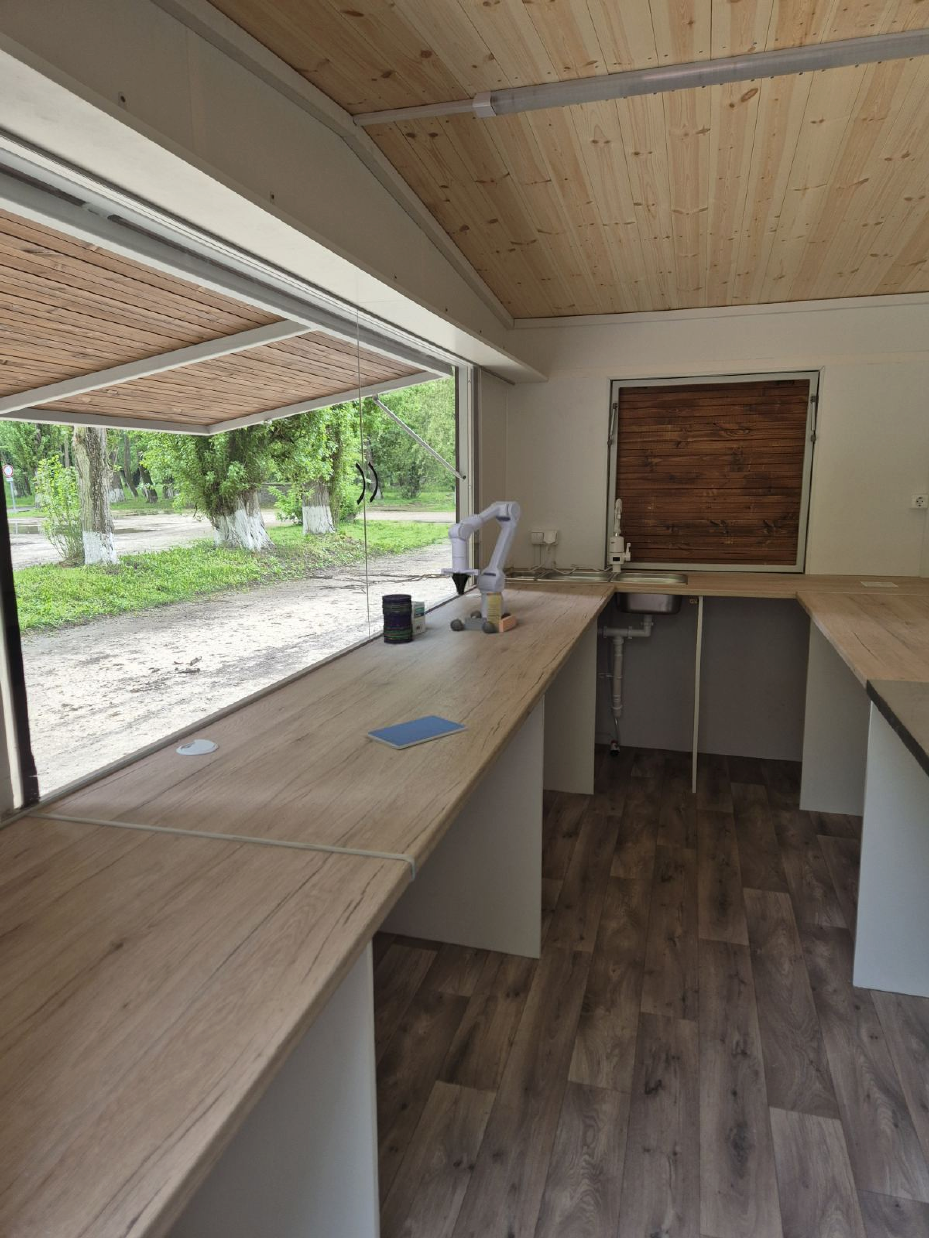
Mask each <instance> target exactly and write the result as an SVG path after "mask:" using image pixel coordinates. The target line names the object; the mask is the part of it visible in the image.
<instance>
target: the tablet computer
mask: <svg viewBox="0 0 929 1238" xmlns="http://www.w3.org/2000/svg"><path fill="white" fill-rule="evenodd" d="M468 729H469V728H468V726H466V725H463V724H461V723H457V722H455V721H453V720H449V719H446V718H444V717H440V716H437V715H434V714H433V715H432V714H431V715H428V716H424V717H420V718H416V719H413V720H410V721H405V722H402V723H398V724H394V725H392V726H387V727H384V728H379V729H375V730H371V731H369V732H368V731H367V732H366V733H365V736H364V737H365V738H367V739H369V740H371V741H374V742H376V743H379V744H381V745H384V746H387V747H389V748H390V749H395V750H403V749H406V748H410V747H412V746H416V745H420V744H423V743H426V742H430V741H433V740H437V739H439V738H444V737H447V736H450V735H453V734H454V735H455V734H457V732H458V733H461V732H464V731H468Z"/></svg>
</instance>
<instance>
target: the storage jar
mask: <svg viewBox="0 0 929 1238" xmlns="http://www.w3.org/2000/svg"><path fill="white" fill-rule="evenodd" d="M381 600H382V601H381V608H382V609H381V610H382V611H381V612H382V616H383V625H382V628H383V629H382V635H383V643H384V644H387V645H406V644H410V643H413V642H414V635H413V625H412V616H411V613H412V601H413V600H412V595H411V594H405V593H396V594H395V593H393V594H392V593H391V594H385V595H382V596H381Z"/></svg>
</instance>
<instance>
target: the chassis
mask: <svg viewBox="0 0 929 1238" xmlns="http://www.w3.org/2000/svg"><path fill="white" fill-rule="evenodd" d="M516 618H517V615H516V614H512V613H510V612H504V614H503V615H502V616H501V620H500V621H499V626H497V625H494V624H493V623H492V622H491V621H487V618H482V611H479V610H475V611H472V612H471V613H470V617H467V616H466V617H464V623H463V621H462V620H460V619H459V618H456V619H453V620H452V621H450V629H451V630H452V631H454V632H459V631H460V630H463V631H464V630H465V631H479V632H483V633H485V634H491V633H493V632H495V633H504V632H507V631H508V630H511V629H514V628H515V627H516V626H517V622H516V621H517V619H516Z"/></svg>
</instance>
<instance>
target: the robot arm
mask: <svg viewBox="0 0 929 1238" xmlns="http://www.w3.org/2000/svg"><path fill="white" fill-rule="evenodd" d="M521 515H522V509H521V505H520V504H519V503H518V502H517V501H501V500H496V501H494V502H493V503H491V504H490V506H488V507H487V508H485V509H484V510H483V511H481V512H480V513H479V514H475V513H470V514H468V516H467V517H466V518H465V519H461V520H460V521H459V523H453V524H451V525H450V526H449V529H448V531H447V535H448V537H449V539H450V544H451V560H452V561H451V563H452V568H448V567H447V568H441V570H440V571H441V572H440V575H451V579H452V581H453V583H454V585H455V587H456V591H457V595H458V596H463V595H464V594H465V589H466V586H467V583H468V581H469V579H470V576H477V579H476V588H477V589H478V591H479V593H480V597H481V598H480V599H481V601H480V602H481V603H480V604H481V614H482V618H485V619H487V599H486V595H487V593H501V616H502V615H503V614H504V613H505V612H504V611H505V609H504V608H505V607H504V606H505V605H504V603H505V599H504V596H503V591H504V589H505V585H506V584H505V583H506V579H507V576H506V574H505V573H504V568H505V565H506V562H507V558H508V556H509V553H510V551H511V547H512V545H513V541H514V539H515V536H516V533H517V529H518V525H519V520H520V518H521ZM493 518H495V521H497V523H498V525H499V526H500V527H501V531H500V533H499V535H498V538H497V541H496V544H495V547H494V550H493V553H492V554H491V559H490V562H489V565H488V566H487V567H485V568H484V569H482V571H481V570H480V569H477V568H476V569H475V568H469V546H468V545H469V544H468V542H469V539H470V538H471V535H472V534H473V533H475V532H476V531H479V530H480V529H481V528H482V527H483V524H484V523H485V522H488V521H490V520H491V519H493Z"/></svg>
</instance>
